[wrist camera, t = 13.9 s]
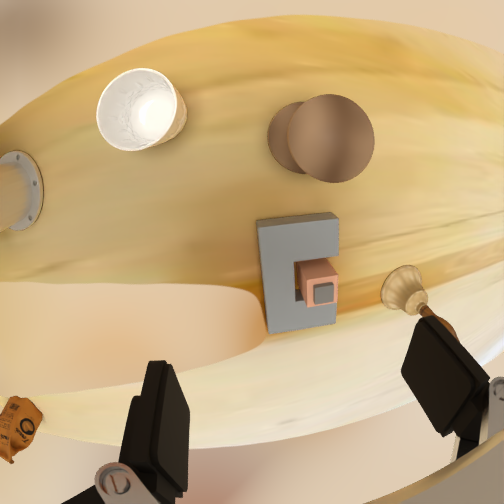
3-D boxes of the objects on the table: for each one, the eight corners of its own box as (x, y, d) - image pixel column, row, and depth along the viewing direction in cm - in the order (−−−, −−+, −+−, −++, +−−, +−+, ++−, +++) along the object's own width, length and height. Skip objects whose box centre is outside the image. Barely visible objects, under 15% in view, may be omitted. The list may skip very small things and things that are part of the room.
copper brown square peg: (296, 259, 39) (308, 283, 32) (324, 255, 39) (340, 278, 33) (297, 284, 40) (308, 311, 34) (324, 280, 40) (339, 305, 34)
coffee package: (48, 418, 54) (26, 474, 34) (26, 414, 54) (3, 464, 34) (28, 396, 50) (-1, 453, 30) (7, 393, 50) (-20, 443, 30)
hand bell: (403, 256, 40) (465, 310, 25) (428, 278, 42) (483, 331, 27) (371, 296, 42) (419, 362, 28) (398, 315, 44) (444, 375, 30)
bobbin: (271, 175, 34) (288, 192, 24) (263, 104, 31) (278, 89, 20) (340, 170, 34) (380, 185, 24) (334, 102, 31) (374, 91, 21)
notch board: (255, 220, 36) (258, 227, 33) (330, 212, 36) (338, 218, 34) (266, 321, 42) (268, 334, 40) (329, 312, 43) (335, 323, 40)
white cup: (129, 92, 29) (94, 80, 19) (190, 81, 29) (174, 60, 20) (134, 151, 32) (100, 158, 22) (194, 142, 32) (180, 143, 23)
